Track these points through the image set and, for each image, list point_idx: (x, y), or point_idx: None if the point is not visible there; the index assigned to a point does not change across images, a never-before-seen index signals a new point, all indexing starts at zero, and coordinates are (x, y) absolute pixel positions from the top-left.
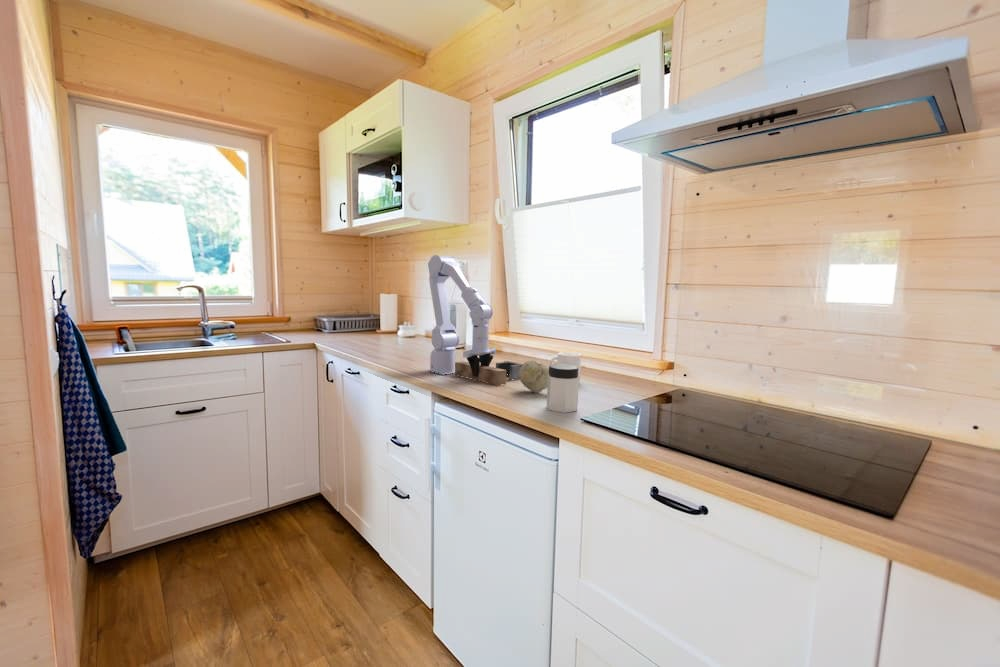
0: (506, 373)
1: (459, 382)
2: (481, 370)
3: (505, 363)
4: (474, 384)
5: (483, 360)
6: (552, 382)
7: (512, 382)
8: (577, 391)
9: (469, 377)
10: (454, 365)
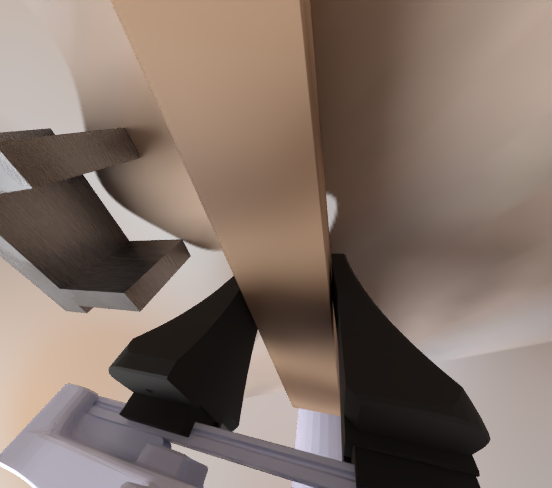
0: (127, 246)
1: (465, 263)
2: (327, 258)
3: (82, 285)
4: (454, 160)
5: (234, 358)
6: None
7: None
8: None
9: None
10: None
